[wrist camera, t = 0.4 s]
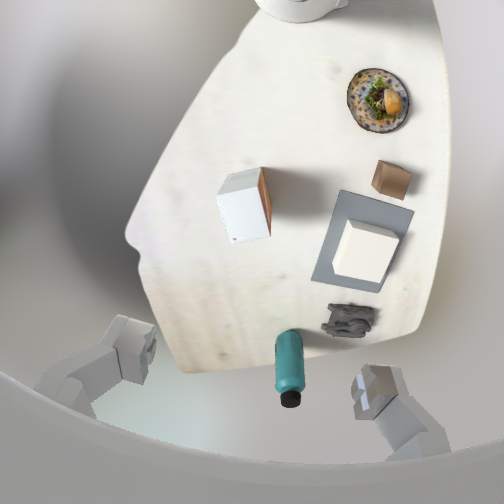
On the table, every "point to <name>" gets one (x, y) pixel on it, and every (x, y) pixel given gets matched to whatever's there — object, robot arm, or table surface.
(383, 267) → the white plinth
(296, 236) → the table surface
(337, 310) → the tank toy
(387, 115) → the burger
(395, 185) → the walnut block
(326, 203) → the table surface
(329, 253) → the plain slate board
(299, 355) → the beverage bottle
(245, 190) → the small box
